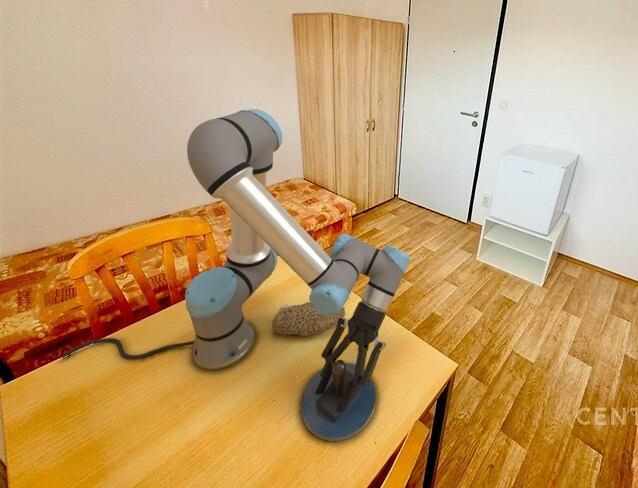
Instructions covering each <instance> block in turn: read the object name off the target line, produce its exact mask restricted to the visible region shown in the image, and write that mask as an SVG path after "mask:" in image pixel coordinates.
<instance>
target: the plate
mask: <svg viewBox="0 0 638 488" xmlns="http://www.w3.org/2000/svg"><path fill="white" fill-rule="evenodd" d="M345 363H346V366H347V369H346V370H347V371H349V372H350V373H351V374H353V375H354V372H355V367H356V364H353V363H349V362H348V363H347V362H345ZM322 370H323V368H322V369H321V370H319V371H318V372H317V373H315V375H314V376H313V377H312V378H310V380H309V382H308V384H307V385H306V386H305V389H304V390H303V393H302V399H301V415H302V419H303V422H304V424H305V426H306V428H307V429H308V430H309V431H310V433H312V434H313V435H314V436H315V437H317V438H319V439H321V440H323V441H327V442H340V441H345V440H348V439H350V438H352V437H354V436H356V435H357V434H359V433H360V432H361V431H362V430H363V429H364V428H365V427H366V426H367V424H368V423H369V422H370V420H371V418H372V417H373V413H374V411H375V408H376V401H377V400H376V399H377V392H376V387H375V383H374V381H373V379H372V378H371V379H370V382H369V384H367V385H364V386H362V388H361V389H360V391H359V392H358V393H357V395H356V396H355V397H354V398H353V400H352V401H351V402H350V404H349V405H348V406H347V408H346V409H345V410H344V412H343V413H342V414H341V416H340V417H339V418H338V420H337V421H336V422H334V421H332V420H331V419H330V418H329V417H328V416H326V415H325V414H324V413H323V412H322V411H320V410H319V409H318V408H317V407H316V401H317V399H318V398H319V397H320V396H321V395H322V394H319V395H316V394H315V392H316V389H317V387H318V385H319V383H320V381H321V379H322V377H320V374H321V372H322ZM364 371H365V369H364ZM363 374H364V372H363ZM332 382H333V373H332V375H331V378H330V380H329V382H328V384H327V386H326V388H325V390H326V389H327V388H328V387H329V385H330V384H331V383H332ZM325 390H324V391H325Z"/></svg>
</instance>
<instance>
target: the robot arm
mask: <svg viewBox="0 0 638 488" xmlns="http://www.w3.org/2000/svg"><path fill="white" fill-rule="evenodd" d="M282 144H283V133H282V129H281V127H280V125H279V123H278V122H277V121H276V120H275V119H274V117H273V116H272V115H270V114H269V113H268V112H266V111H264V110H261V109H258V108H251V109H241V110H239V111H237V112H234V113H231V114H226V115H223V116H220V117H216V118H212V119H207V120H206V121H204V122H201V123H199V125H197V126H195V128H194V129H193V130H192V132H191V133H190V135H189V137H188V141H187V146H186V153H187V155H186V156H187V161H188V164H189V166H190V169H191V172H192V173H193V175H194V177H195V179H196V181H198V183H199V185H200V186H201V187H202V188H203V189H204V190H205V191H206V193H208V194H209V195H210V197H212V198H213V199H220V200H222V201H223V202H224V203H225V204H226V205H227V206H228V207H229V209H230V231H231V233H230V234H231V243H230V244H228V246H227V247H226V251H225V254H226V255H225V257H226V258H225V259H226V261H225V263H224V264H223V265H222V266H216V267H212V268H209V270H203V271H202V272H200V273H198V274H197V275H196V276H195V277H194V278H193V279H192V280H190V282H189V283H188V285H187V287H186V289H185V293H184V299H185V307H186V311H187V312H188V314H189V317H190V320H191V323H192V327H193V330H194V333H195V336H194V340H192V341H185V342H180V343H173V344H170V345H165V346H162V347H159V348H156V349H153V350H151V351H147V352H145V353H141V354H128V353H127V352H126V351H125V350H124V347H123V343H122V342H121V341H120V340H119V339H117V338H113V337H108V338H107V337H106V338H99V339H94V340H90V341H88V342H85V343H82V344H80V345H77V346H75V347H73V348H72V349H69V351H67V352H65V353H64V354H63V356H62V358H61V359H66V358H68V357H69V356H70V355H71V353H72V354H73V353H75V352H76V351H78V350H81V349H83V348H85V347H88V346H91V345H90V344H92V343H93V344H92V345H95V344H99V343H114V344H116V346H117V349H118V351H119V354H120V355H121V357H122V358H124V359H127V360H138V359H143V358H146V357H149V356H151V355H155V354H157V353H160V352H163V351H167V350H170V349H175V348H181V347H188V346H192V345H193V347H192V356H193V359H194V362H195V363H196V365H197V366H198V367H200V368H202V369H204V370H209V371H215V370H222V369H225V368H228V367H231V366H233V365H235V364H236V363H238V362H239V361H241V360H242V359H244V358H245V356H246V355H247V354H248V353H249V352H250V351H251V349H252V347H253V345H254V343H255V339H256V338H255V330H254V327H253V325H252V323H250V321H249V320H248V319H247V318H246V317H245V315H244V311H243V305H244V304H245V303H246V302H247V301H248V300H249V299H250V298H251V297H252V296H253V294H254V293H255V292H256V291H257V290H258V289H259V288H260V287H261V286H262V284H263V283H264V282H265V281H266V280H267V279H268V278H270V277H271V276H272V274H273V273H274V271H275V269H276V268H277V265H278V257H279V258H280V259H281V260H282V261H283V262H284V263H285V264H286V265H287V266H288V267H289V268H290V269H291V270H292V271H293V272H294V273H295V274H296V275H297V276H298V277H299V278H300V279H301V280H302V281H303V282H304V284H306V285H307V286H308V287H309V288H310V289H311V291H310V293H309V297H308V299H309V302H311V306H312V307H313V308H314V309H315V310H316V311H317V312H319V313H321V314H323V315H334V314H337V313H338V312H339V311H340V310H341V309H342V307H343V308H344V306H345V304H346V302H347V301H348V300H349V299H350V295H351V294H352V291H353V289H354V287H355V285H356V283H357V282H358V281H359V278H360V276H361V275H363V276H365V277H368V278H369V279H368V282H367V284H366V286H365V289H364V290H363V292H362V294H361V296H360V299H361V300H360V301H358V302H357V305H356V307H355V308H354V311H353V314H352V317H350V318H349V319H347V318H345V317H344V318H339V319H338V322H337V323H336V327H335V329H334V331H333V332H332V334H331V336H330V338H329V340H328V341H327V344H326V345H325V347H324V348H323V350H322V352H321V358H323V360H324V361H325V363H324V365H323V367H322V369H323V370H322V369H321V370H322V372H321V374H320V377H322V379H321V381H320V383H319V385H318V387H317V389H316V392H315V394H316V395H319V394H323V392H324V390H325V388H326V386H327V384H328V382H329V380H330V378H331V375H332V373H333V372H332V365H333V364H334V362H335V361H337V360H339V358H340V357H341V355H343V353H344V352H345V351H346V350H347V348H348V347H350V345H351V344H352V343H355V344H356V346H358V347H357V356H356V362H355V365H356V367H355V372H354V378H353V380H351V381H349V383H348V385H347V387H346V389H345V392H344V394H343V396H342V398H341V401H340V403H339V405H338V407H337V409H336V411H337V412H341V411H343V410H345V407H346V405H347V403H348V401H349V398H350V399H351V398H353V397H354V396H355V394H356V392H357V389H358V387H359V385H362V386H364V385H367V384H369V382H370V379H372V377H373V375H374V374H373V373H374V371H375V369H376V366H377V363H378V360H379V358H380V355H381V353H382V351H383V350H384V349H385V347H386V346H387V345H386V342H384V341H382V340H381V339H380V338H379V331H380V329H381V326H382V324H383V322H384V320H385V318H386V313H385V312H388V311H389V308H390V306H391V304H392V302H393V300H394V297H395V295H396V293H397V291H398V288H399V286H400V284H401V282H402V280H403V277H404V276H405V273H406V271H407V268H408V266H409V263H410V260H411V259H410V256H409V254H408V253H406V252H405V251H403V250H401V249H399V248H396V247H394V246H391V245H389V244H387V245H385V246H384V248H383V249H379V248H377V247H375V246H373V245H372V244H369V243H367V242H365V241H363V240H361V239H359V238H358V237H354V236H352V235H350V234H347V233H341V234H340V235H338V237H337V238H336V240H335V241H334V244H333V246H332V248H331V250H330V253H329V254H328V253H327V252H326V251H325V250H324V248H322V246H321V245H320V244H319V243H317V241H316V240H315V239H314V238H313V237H312V236H311V235H310V234H309V233H308V232H307V230H305V229H304V227H303V226H302V225H300V224H299V222H298V221H297V220H296V219H295V218H294V217H293V216H292V215H291V214H290V212H288V211H287V210H286V208H285V207H283V205H282V204H281V203H280V202H279V201H278V200H277V199H276V198H275V197H274V196H273V194H271V193H270V192H269V190H267V173H269V172H270V171H272V169H273V167H274V166H273V165H274V152H276V151H278V150H279V148H280V147H281V145H282ZM346 328H347V333H346V334H345V335H344V337H343V340H341V342H339V341H340V339H341V337H342V335H343V333H344V331H345V330H346ZM373 342H374V343H373ZM338 343H339V344H338ZM371 343H373V348H372V351H371V353H370V356H369V358H368V360H367V354H368V351H369V349H370V348H369V347H370V344H371ZM67 355H69V356H67ZM65 356H67V357H65ZM64 357H65V358H64ZM366 360H367V362H366ZM366 363H367V364H366ZM364 370H365V371H364ZM363 372H364V374H363Z"/></svg>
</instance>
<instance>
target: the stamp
mask: <svg viewBox="0 0 638 488" xmlns="http://www.w3.org/2000/svg"><path fill="white" fill-rule="evenodd" d="M346 363H347V362H345V361H344V360H342V359H337V360H336V361H335V362H334V363H333V365H332V372H333V382H332V383H331V384H330V385H329V387H328V388H327V389H326V390H325V391H324V392H323V394H322V395H321V396H320V397H319V398H318V399H317V401H316V407H317V408H318V409H319V410H320V411H322V412H323V413H324V414H325V415H326V416H328V417H329V418H330V419H331V420H332V421H334V422H336V421H337V420H338V418H339V417H340V416H341V414H342V413H343V412H344V410H343V411H341V412H337V411H336V409H337V407H338V405H339V403H340V401H341V398H342V396H343V394H344V392H345V389H346V387H347V385H348V383H349V381H351V380H353V378H354V375H353V374H351V373H350V372H349V371H347V370H346V369H347V366H346ZM361 388H362V385H359V387H358V389H357V392H356V394H355V396H356V395H357V393H358V392H359V391H360V389H361ZM355 396H354V397H355ZM354 397H353V398H354ZM353 398H351V399H350V398H349V401H348V403H347V405H346V407H345V409H346V408H347V406H348V405H349V404H350V402H351V401H352V400H353Z"/></svg>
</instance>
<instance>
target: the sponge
mask: <svg viewBox="0 0 638 488" xmlns="http://www.w3.org/2000/svg"><path fill="white" fill-rule="evenodd" d="M345 316H346V308H345V307H344V306H343V307H342V309H341V310H340V311H339V312H338V313H337V314H334V315H323V314H321V313H319V312H317V311H316V310H315V309H314V308H313V307H312V306H311V302H310V301H307V302H304V303H302V304H296V305H295V304H293V305H288V304H286V305H283V306H280V308H279V309H278V311H277V313H276V314H275V316H274V319H273V320H272V321H271V325H272V327H271V328H272V329H273V331H275V332H277V333H278V334H282V335H297V336H302V337H306V336H307V337H308V336H313V335H318V334H320V333H323V332H325V331H327V330H329V329H330V328H333V327H334V326H337V322H338V319H339V318H345Z"/></svg>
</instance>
